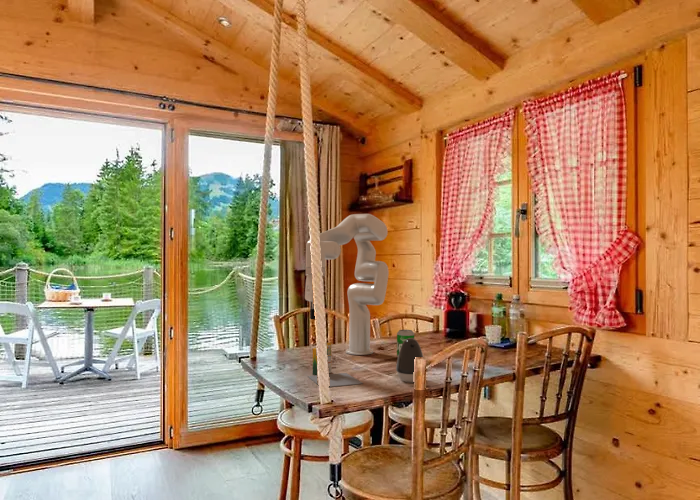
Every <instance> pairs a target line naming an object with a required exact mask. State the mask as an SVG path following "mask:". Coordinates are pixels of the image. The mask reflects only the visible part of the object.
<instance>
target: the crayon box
mask: <svg viewBox="0 0 700 500" xmlns="http://www.w3.org/2000/svg"><path fill="white" fill-rule="evenodd" d="M326 343H327V345H326V346H327V355H328V368H329V373H328V374H332V341H329V342H326ZM316 348H317V347H314V348H312V376H315V375H317V356H316Z"/></svg>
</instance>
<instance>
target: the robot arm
mask: <svg viewBox="0 0 700 500" xmlns="http://www.w3.org/2000/svg"><path fill="white" fill-rule="evenodd" d="M319 234H320V245H321V258H322V272H323V277H325V276H326V275H325V274H326V260H327V261H328V260H329V261H330V260H336V259H337V258H339V257H340V255H341V252H342V251H341V248H342V247H341V246H343V245H346V244H348V243H350V241H351V240H352V239H354V241H355V244H356V247H357V255H356V260H355V261H356V262H355V268H354V278H355V279H356V280H357V281H359V282H356V283H352V284H350V285H349V286H348V288H347V292H346V293H347V301H348V309H349V317H348V318H349V322H348V326H349V328H348V330H349V331H348V333H349V334H348V335H349V336H348V339H349V340H348V348H346V349H345V353H346V354H348V355H353V356H354V355H355V356H363V355H364V356H366V355H372V354H373V353H374V349H373V348H371V312H370V309H369V308H368V306H367V305H370V306H380V305H383V303H384V302H385V298H386V294H387V293H386V292H387V289H388V288H387V287H388V282H389V281H388V280H389V275H390V274H389V266H388V265H387V263H386V262H385V261H381V260H376V255H377V252H376V249H375V246H374V245H373V244H372V242H371V241H373V242H374V241H377V242H378V241H380V242H381V241H383V240H385V239H386V238H387V236H388V227H387V225H386V223H385V222H384V221H382V220H380V219H379V218H378V217H376V216H375V215H374V214H371V213H354V214H353V213H352V214H350V215H348V216H346V217H345V218H344V219H343V220H342V221H341V222H339V223H338V225H337V226H335V227H333V228H330V229H328V230H326V231H323V232H321V233H319ZM310 241H311V240H308V241H307V242H306V246H305V276H306V279H305V286H304V288H305V289H304V290H305V291H304V299H305V301H308V302H309V319H310V320H316V319H315V316H314V304H313V290H312V273H311V255H310ZM360 281H361V282H360ZM365 282H371V283H365ZM372 282H373V283H372ZM324 288H325V287H324V282H323V289H324ZM324 290H325V289H324Z"/></svg>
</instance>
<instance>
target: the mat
mask: <svg viewBox="0 0 700 500" xmlns="http://www.w3.org/2000/svg"><path fill="white" fill-rule="evenodd" d="M328 374H329V377H330V387H329V388H337V387H347V386H357V385H363V384H364V382H362V381H361V380H359V379H357V378H356V377H354V376H352V375H350V374H349V373H347V372H339V373H328ZM308 377H309V378H308ZM307 378H308V379H309V380H311V381H312V382H314V383H315V384H316V385H317V375H308V376H307Z"/></svg>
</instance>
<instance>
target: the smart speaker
mask: <svg viewBox="0 0 700 500" xmlns="http://www.w3.org/2000/svg"><path fill="white" fill-rule="evenodd" d="M415 357H423V358H424V355H423V351H422V347H421V345H420V344H419V342H418V340H416V339H415V338H414V339H413V338H408V339H406V340H405V341H404V342H403V344H402V346H401V348H400V351H399V355H398V356H397V360H396V367H395V368H396V369H395V371H396V373H397V377H399V379H400V380H401V381H402V382H404V383H410V384H411V383H413V372H414V359H415Z"/></svg>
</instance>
